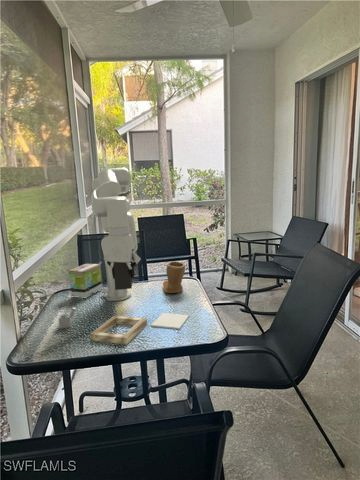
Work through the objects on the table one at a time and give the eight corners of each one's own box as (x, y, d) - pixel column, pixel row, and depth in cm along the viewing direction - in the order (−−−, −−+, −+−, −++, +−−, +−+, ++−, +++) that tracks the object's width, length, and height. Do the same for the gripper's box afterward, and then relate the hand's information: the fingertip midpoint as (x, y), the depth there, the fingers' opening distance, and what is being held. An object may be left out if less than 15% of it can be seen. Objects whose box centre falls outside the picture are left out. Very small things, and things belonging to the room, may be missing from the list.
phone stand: (131, 288, 122) (128, 257, 120) (115, 290, 121) (111, 258, 119) (132, 281, 131) (130, 251, 128) (117, 282, 130) (114, 253, 128)
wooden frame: (91, 340, 123) (90, 333, 122) (114, 321, 139) (114, 315, 138) (126, 344, 118) (126, 338, 117) (147, 324, 133) (146, 318, 133)
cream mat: (151, 326, 131) (151, 324, 131) (162, 314, 142) (162, 313, 142) (179, 329, 127) (179, 327, 127) (189, 316, 138) (189, 315, 138)
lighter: (59, 328, 135) (57, 309, 133) (60, 326, 137) (58, 308, 135) (77, 326, 136) (75, 307, 135) (78, 324, 138) (76, 306, 136)
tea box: (86, 299, 168) (83, 271, 165) (70, 297, 171) (67, 270, 168) (103, 289, 181) (100, 263, 179) (88, 288, 185) (85, 262, 182)
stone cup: (187, 293, 166) (185, 264, 163) (163, 295, 165) (161, 266, 162) (184, 284, 181) (183, 257, 178) (163, 286, 180) (161, 259, 177)
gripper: (93, 233, 122) (98, 280, 125) (134, 233, 116) (139, 282, 119) (104, 229, 129) (109, 274, 132) (144, 229, 122) (148, 276, 126)
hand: (123, 277), depth 125 cm, fingers closed on phone stand, 6 cm apart
